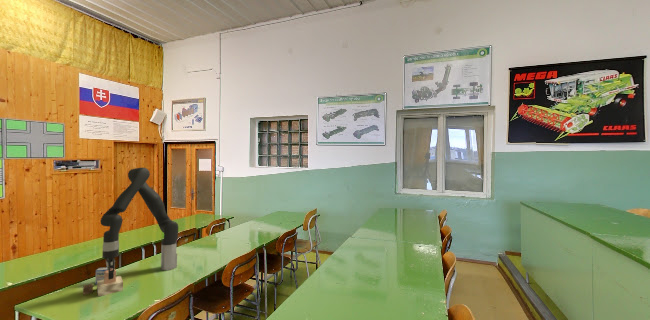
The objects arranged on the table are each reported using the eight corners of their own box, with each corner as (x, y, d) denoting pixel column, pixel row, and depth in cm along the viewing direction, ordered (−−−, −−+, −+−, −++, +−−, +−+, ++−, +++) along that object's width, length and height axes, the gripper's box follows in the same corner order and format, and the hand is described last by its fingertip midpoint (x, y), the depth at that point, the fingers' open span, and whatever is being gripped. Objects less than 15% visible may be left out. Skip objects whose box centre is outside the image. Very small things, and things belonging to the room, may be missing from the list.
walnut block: (92, 290, 156) (92, 283, 156) (92, 292, 153) (92, 285, 153) (83, 292, 154) (83, 285, 154) (83, 295, 151) (83, 288, 151)
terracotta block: (114, 278, 161) (115, 268, 161) (115, 281, 157) (116, 271, 157) (104, 281, 157) (104, 270, 157) (104, 284, 153) (105, 273, 153)
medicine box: (94, 284, 163) (95, 270, 163) (98, 281, 167) (99, 267, 167) (110, 283, 165) (110, 269, 165) (113, 280, 169) (114, 266, 169)
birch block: (120, 283, 165) (120, 275, 165) (122, 290, 157) (123, 281, 157) (96, 289, 157) (97, 280, 157) (98, 296, 149) (98, 287, 149)
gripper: (120, 250, 154) (119, 278, 154) (117, 244, 165) (116, 270, 165) (103, 253, 149) (102, 282, 149) (101, 246, 160) (100, 274, 160)
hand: (110, 276), depth 157 cm, fingers open, 8 cm apart
